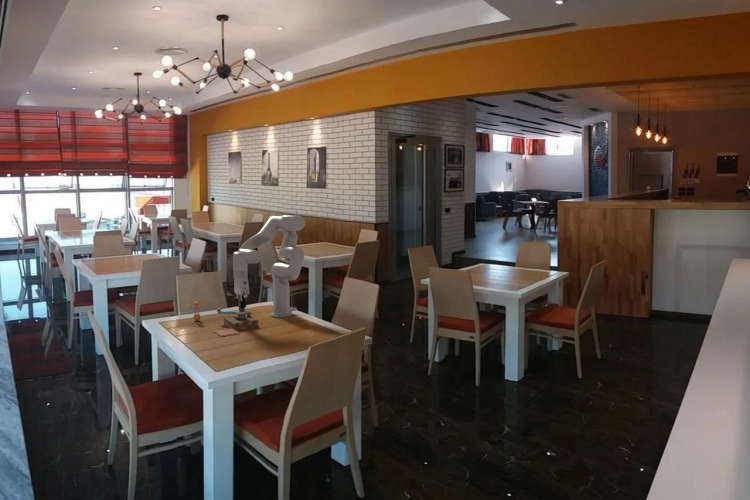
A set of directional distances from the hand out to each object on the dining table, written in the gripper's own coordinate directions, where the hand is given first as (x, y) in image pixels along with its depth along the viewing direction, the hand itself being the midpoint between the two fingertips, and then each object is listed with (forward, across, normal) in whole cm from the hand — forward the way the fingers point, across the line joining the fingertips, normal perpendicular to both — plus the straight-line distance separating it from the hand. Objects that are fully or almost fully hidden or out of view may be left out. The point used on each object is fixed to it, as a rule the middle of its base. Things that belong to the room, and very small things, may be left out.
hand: (241, 306), depth 313 cm
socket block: (+11, 0, +1) cm, 11 cm away
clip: (+5, +7, +1) cm, 9 cm away
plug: (+8, 0, 0) cm, 8 cm away
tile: (+10, -9, +13) cm, 19 cm away
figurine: (+11, +24, +17) cm, 31 cm away
